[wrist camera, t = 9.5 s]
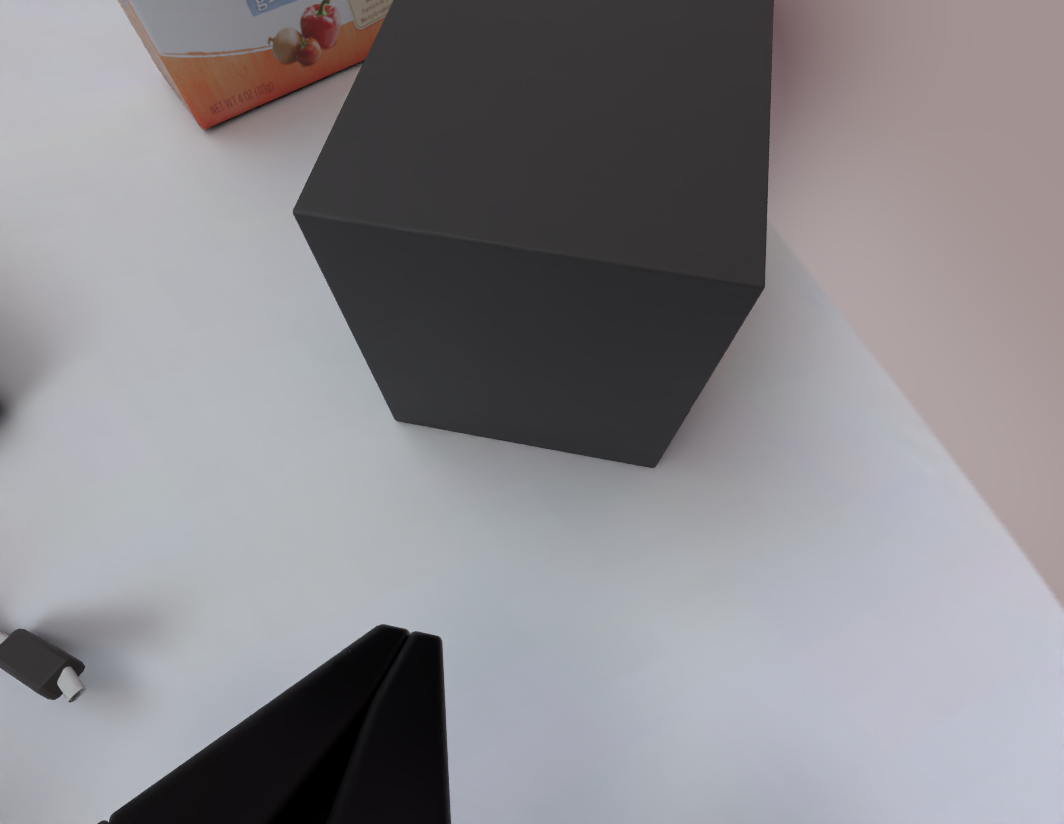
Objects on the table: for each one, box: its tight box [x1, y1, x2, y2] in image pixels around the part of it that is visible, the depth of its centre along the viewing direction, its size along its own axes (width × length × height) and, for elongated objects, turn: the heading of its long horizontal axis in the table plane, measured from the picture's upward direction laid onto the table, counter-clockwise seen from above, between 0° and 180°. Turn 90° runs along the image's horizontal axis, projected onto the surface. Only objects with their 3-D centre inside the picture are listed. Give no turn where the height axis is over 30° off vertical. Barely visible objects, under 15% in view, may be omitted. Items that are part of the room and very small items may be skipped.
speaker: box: [293, 0, 774, 468], centre depth 20 cm, size 16×10×11 cm, turn 169°
